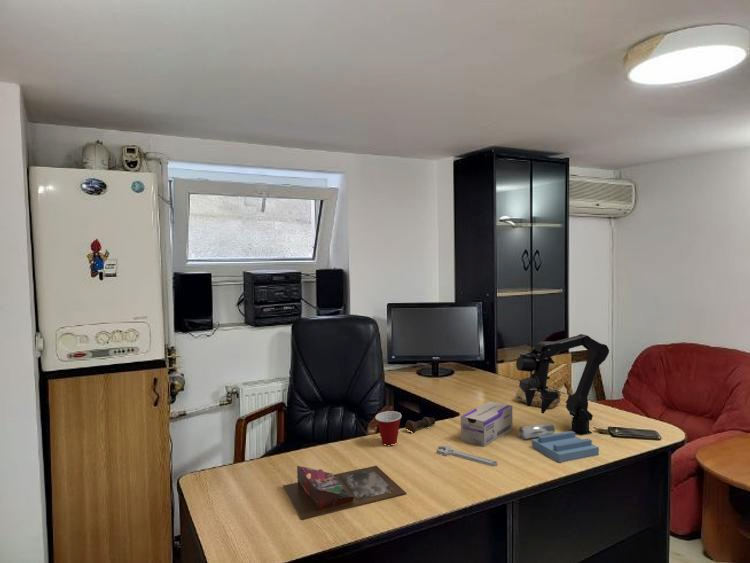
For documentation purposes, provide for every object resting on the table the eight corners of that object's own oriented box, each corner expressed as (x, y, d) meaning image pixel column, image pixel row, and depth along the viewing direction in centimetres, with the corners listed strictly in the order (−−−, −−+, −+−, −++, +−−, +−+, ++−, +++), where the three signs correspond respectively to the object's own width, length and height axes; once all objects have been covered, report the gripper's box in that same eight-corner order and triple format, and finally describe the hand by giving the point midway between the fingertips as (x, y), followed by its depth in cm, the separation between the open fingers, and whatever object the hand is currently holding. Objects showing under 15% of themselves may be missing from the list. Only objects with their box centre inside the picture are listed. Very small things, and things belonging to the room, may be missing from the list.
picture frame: (282, 488, 170) (281, 464, 169) (376, 468, 183) (376, 446, 183) (301, 522, 147) (300, 495, 147) (407, 497, 161) (406, 472, 161)
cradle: (569, 440, 203) (569, 428, 203) (598, 455, 188) (598, 442, 188) (532, 447, 198) (531, 434, 197) (559, 462, 182) (559, 449, 182)
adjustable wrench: (499, 465, 182) (499, 461, 182) (490, 471, 178) (490, 467, 178) (442, 448, 199) (442, 444, 199) (433, 453, 195) (433, 448, 195)
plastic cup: (370, 444, 204) (369, 415, 204) (387, 437, 212) (387, 409, 212) (390, 451, 197) (389, 421, 196) (407, 443, 205) (407, 414, 204)
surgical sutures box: (490, 424, 225) (490, 401, 224) (512, 430, 218) (512, 405, 217) (461, 441, 206) (460, 416, 205) (484, 447, 199) (483, 421, 198)
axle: (546, 432, 214) (546, 420, 213) (554, 436, 209) (554, 424, 209) (518, 436, 209) (519, 425, 209) (526, 441, 204) (526, 429, 204)
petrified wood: (563, 405, 248) (561, 386, 246) (547, 416, 241) (545, 397, 239) (531, 395, 264) (529, 378, 262) (515, 405, 257) (513, 387, 255)
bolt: (434, 429, 226) (410, 436, 216) (427, 421, 229) (403, 428, 220) (439, 419, 224) (415, 426, 214) (432, 411, 227) (408, 418, 217)
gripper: (511, 366, 214) (506, 402, 214) (539, 377, 196) (533, 416, 196) (532, 368, 217) (527, 403, 218) (562, 378, 200) (556, 417, 200)
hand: (535, 409), depth 208 cm, fingers open, 9 cm apart
